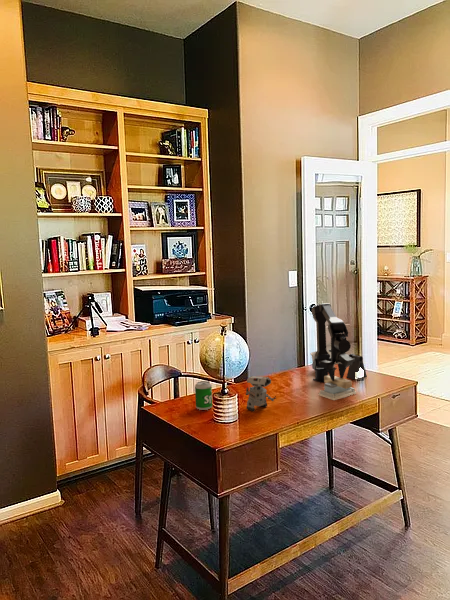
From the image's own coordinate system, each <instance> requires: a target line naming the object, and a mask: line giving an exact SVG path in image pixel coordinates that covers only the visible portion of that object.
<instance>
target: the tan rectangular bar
mask: <svg viewBox="0 0 450 600" xmlns="http://www.w3.org/2000/svg"><path fill="white" fill-rule="evenodd" d="M328 382H330V383H333V384H336V385H337V386H338V387H342V388H345V389H347V388H350V387H352V388H353V381H352V379H348V378H347V379H346V378H344V377H343V378H340V376H336V375H335V377H334V381H332V380H331V378H330V376H329V374H328V375H327V376H324V382H323V383H324V384H325V383H328Z"/></svg>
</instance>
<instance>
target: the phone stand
mask: <svg viewBox="0 0 450 600" xmlns="http://www.w3.org/2000/svg"><path fill="white" fill-rule="evenodd" d="M354 355H355V363H352V365H350V366H348V369H347V373H346V378H347V379H350V378H351V379H350V380H354V379H355V372H358V371H359V368H360V367H361V368H362V369H363V370H364V376H365V378H367V377H368V376H367V372H366V369H365V364H364V358H363V356H361V355H357V354H354Z"/></svg>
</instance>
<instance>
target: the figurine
mask: <svg viewBox="0 0 450 600" xmlns="http://www.w3.org/2000/svg"><path fill="white" fill-rule="evenodd" d="M246 382H247V383H249V384H250V385H251V386H249V387H246V389H245V391H246V392H245V396H248V399H247V402H246V410H247V409H248V410H247V411H251V412H252V411H253V412H255V411H256V408H255V407H263V408H267V407H268V404H267V403H268V402H267V399H268V400H270V401H271V402H274V401H275V400H277V397H276V395H275V396H274V397H271V396H270V395H269V394H268V393H267V391H268V390H267V389H266V388H265V387H268V386H270V384H272V379H271V378H270V377H269V376H254V375H252V376H249V377H248V378H247V379H246Z"/></svg>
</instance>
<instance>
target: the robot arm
mask: <svg viewBox="0 0 450 600" xmlns="http://www.w3.org/2000/svg"><path fill="white" fill-rule="evenodd" d="M311 314H312V318H313V320H314V322H315V323H316V342H317V343H316V347H317V349H316V351H317V352H316V351H315V352H316V354H315V359H314V361H312V363H311V368H312V369H313V370H314V376H315V378H313V379H312V380H313V381H316V382H319V383H325V382H324V376H327V375H329V376H330V378H331V380H332V381H334V377H335V376H336V375H335V371H336V370H337V368H338V374H339V377H340V378H344V375H345V373H346V370H347V368H349V366H350V365H352V363H355V355H356V354H355V353H350V354H347V352H349V351H350V349H351V347H352V345H351V342H350V341H349V340H347V337H348V338H349V331H348V330H349V329H348V327H347V325H346V323H345V322H344V320H342V319H341V318H339V317H337V315H336V313H335V312H334V310H333V308H332V305H331V303H329V302H326V303H324V302H322V303H319V304H318V305H314V306H313V307H312V308H311ZM326 322H327V330H328V333H329V336H330V348H329V349H328V351H327V333H326V331H327V330H326ZM328 352H330V353H331V358H330V354H328ZM336 365H337V366H338V367H336Z"/></svg>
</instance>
